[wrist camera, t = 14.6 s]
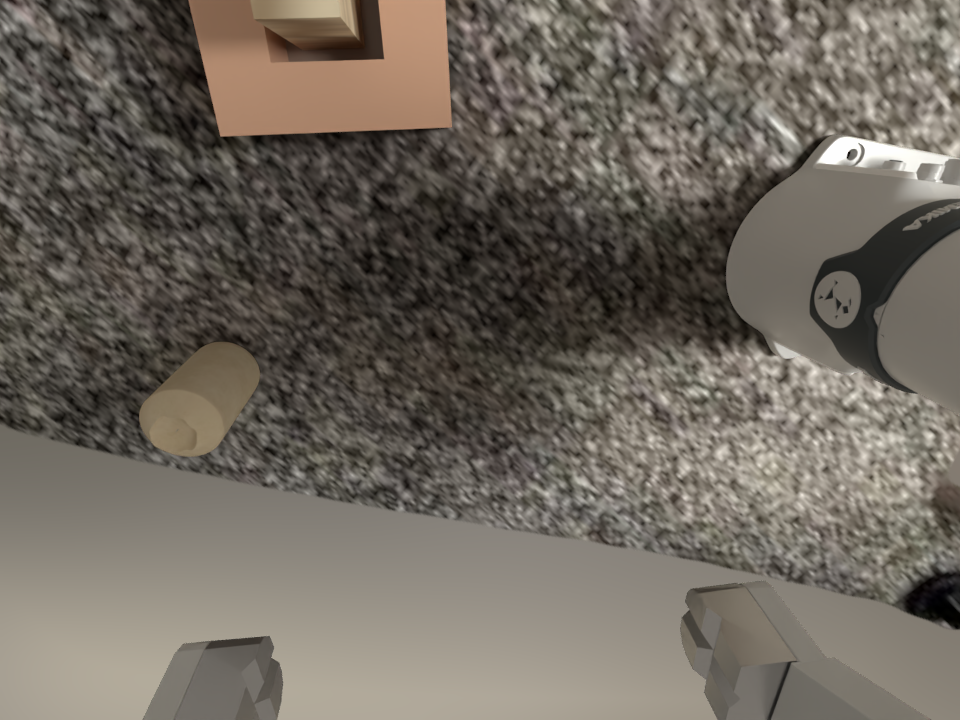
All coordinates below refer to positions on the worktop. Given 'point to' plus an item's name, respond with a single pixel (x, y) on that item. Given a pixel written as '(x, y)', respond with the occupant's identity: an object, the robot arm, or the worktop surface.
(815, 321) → the robot arm
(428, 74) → the well block
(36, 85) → the worktop surface
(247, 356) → the candle
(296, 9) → the peg
